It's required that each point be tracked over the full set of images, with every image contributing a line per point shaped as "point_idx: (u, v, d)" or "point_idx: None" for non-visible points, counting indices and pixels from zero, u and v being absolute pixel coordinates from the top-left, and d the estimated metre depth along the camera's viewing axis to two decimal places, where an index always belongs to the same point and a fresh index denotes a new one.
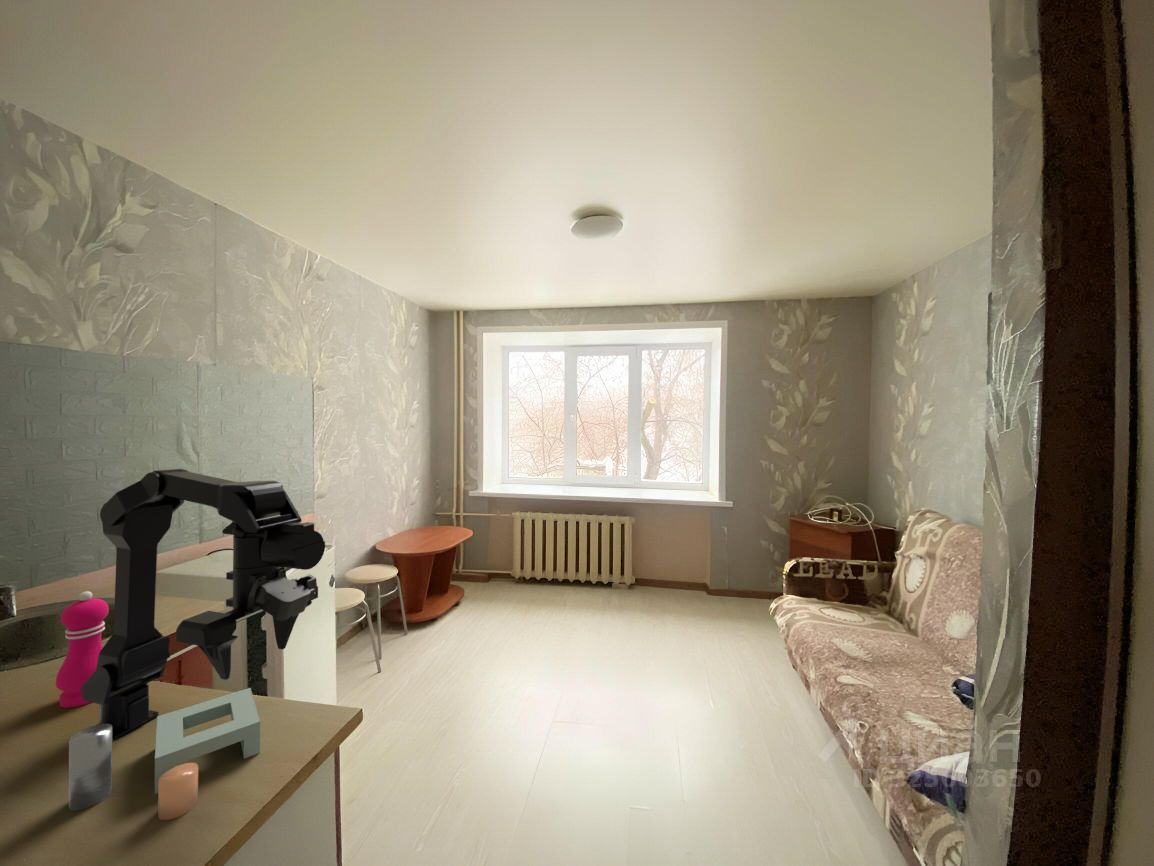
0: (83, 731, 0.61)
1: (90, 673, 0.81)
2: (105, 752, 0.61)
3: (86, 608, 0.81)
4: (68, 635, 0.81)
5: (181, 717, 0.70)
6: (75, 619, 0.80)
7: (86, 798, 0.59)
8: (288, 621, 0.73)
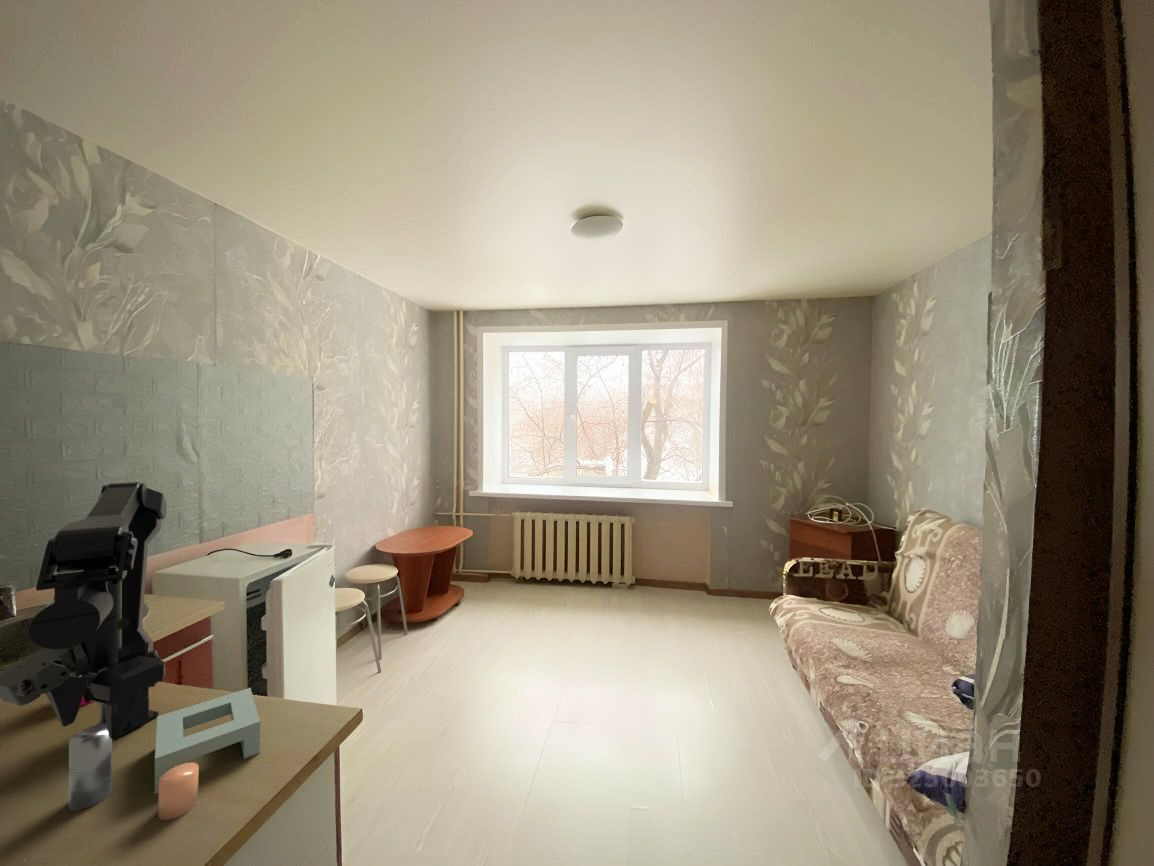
0: (83, 731, 0.61)
1: None
2: (105, 752, 0.61)
3: None
4: None
5: (181, 717, 0.70)
6: None
7: (86, 798, 0.59)
8: None
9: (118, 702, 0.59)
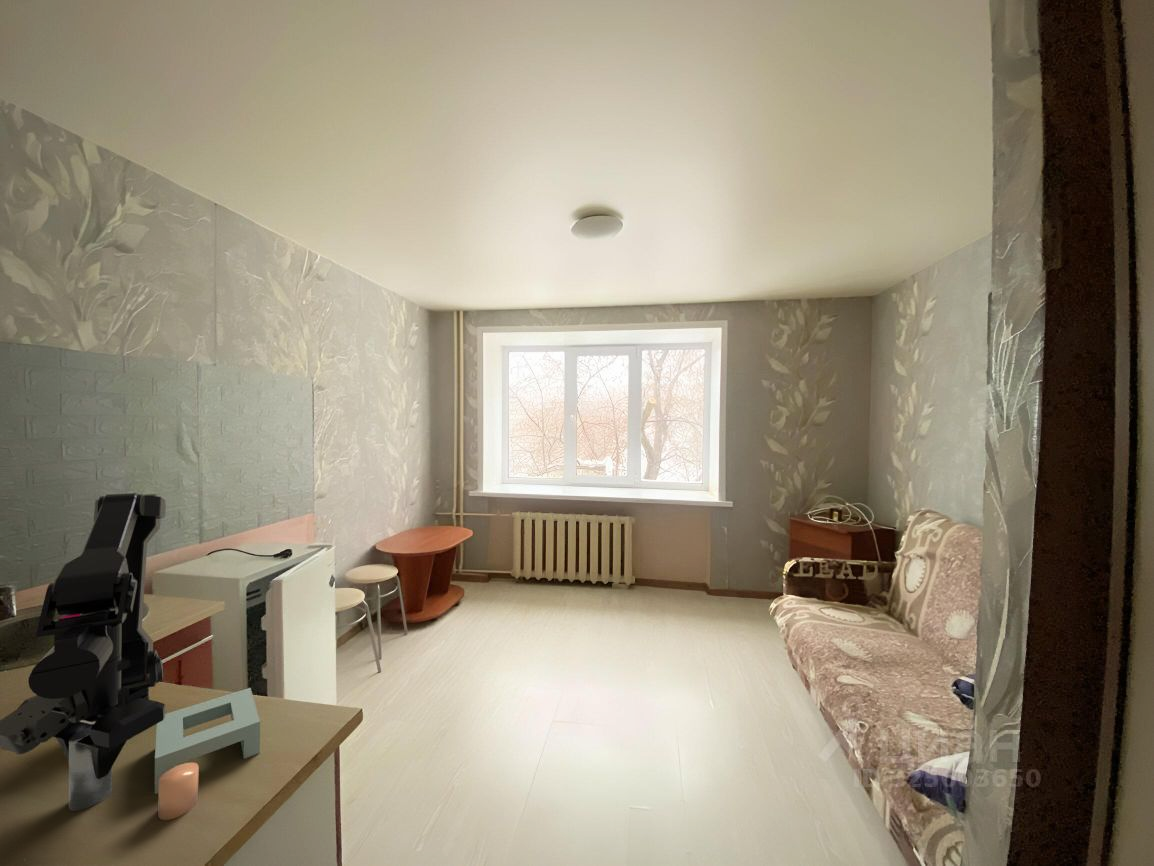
0: (83, 731, 0.61)
1: None
2: None
3: None
4: None
5: (181, 717, 0.70)
6: None
7: (86, 798, 0.59)
8: None
9: None
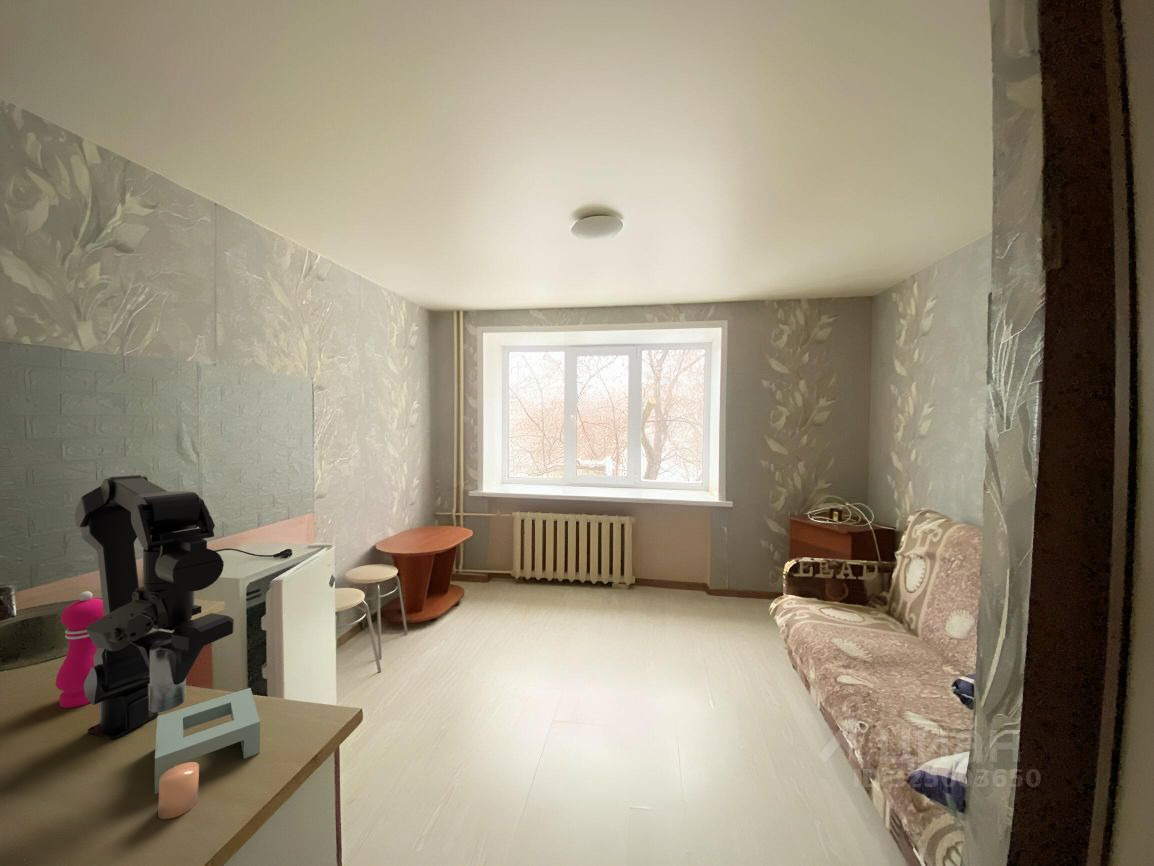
0: (161, 642, 0.67)
1: None
2: None
3: (86, 608, 0.81)
4: (68, 635, 0.81)
5: (181, 717, 0.70)
6: (75, 619, 0.80)
7: (165, 701, 0.65)
8: None
9: (181, 651, 0.65)
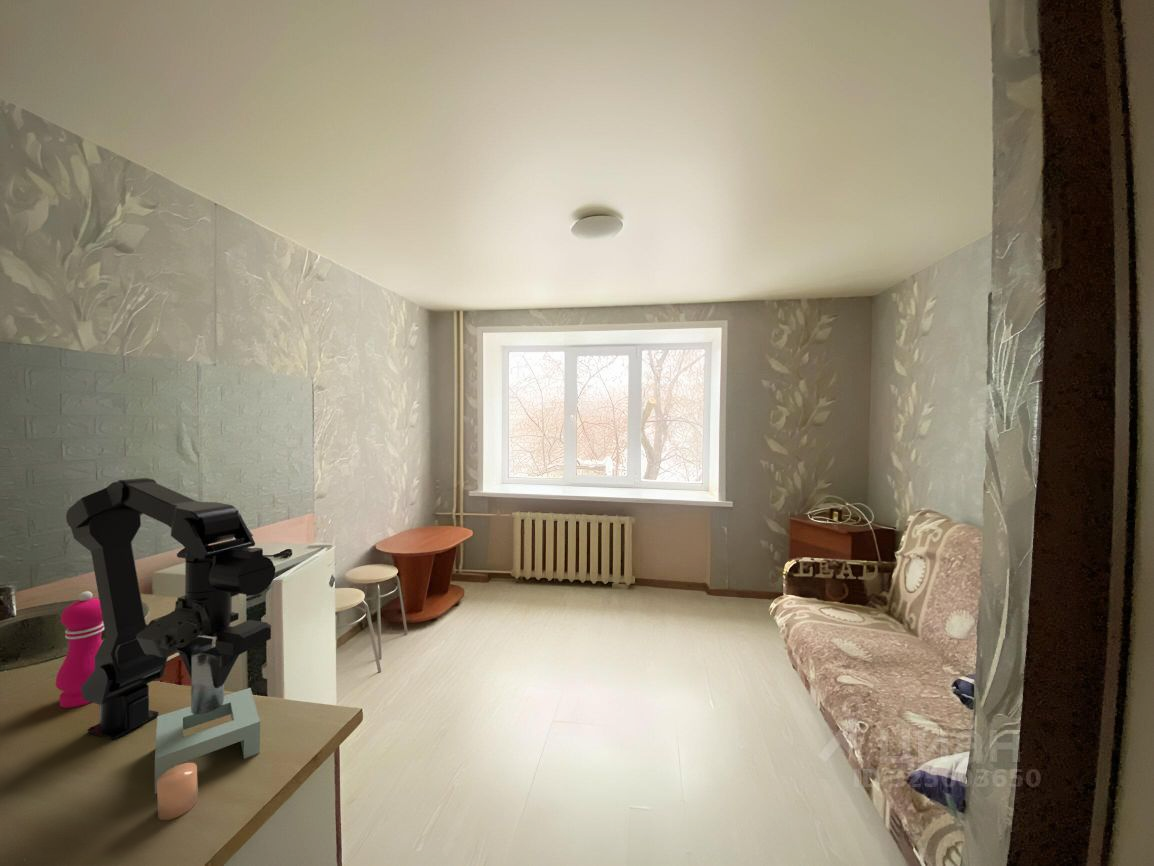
0: (201, 648, 0.70)
1: (90, 673, 0.81)
2: None
3: (86, 608, 0.81)
4: (68, 635, 0.81)
5: (181, 717, 0.70)
6: (75, 619, 0.80)
7: (206, 704, 0.68)
8: None
9: (222, 656, 0.69)
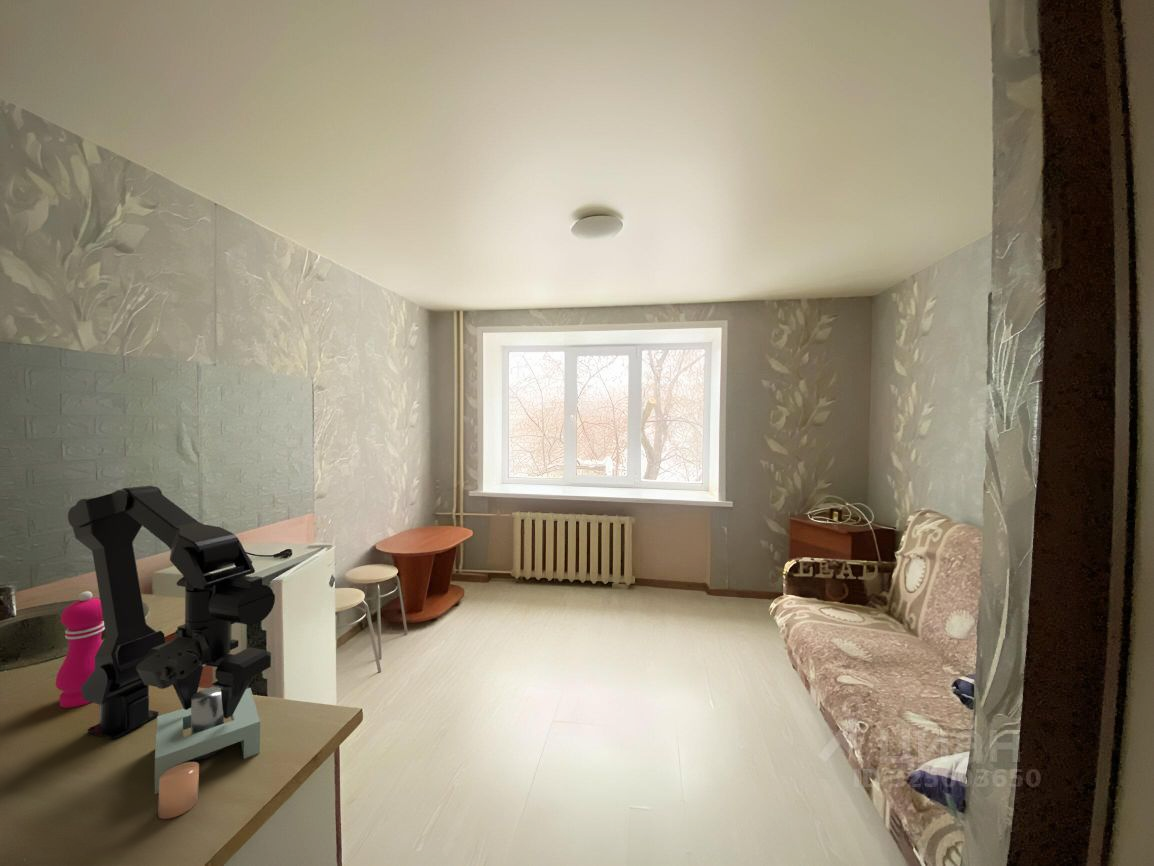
0: (200, 692, 0.70)
1: (90, 673, 0.81)
2: (220, 710, 0.70)
3: (86, 608, 0.81)
4: (68, 635, 0.81)
5: (181, 717, 0.70)
6: (75, 619, 0.80)
7: None
8: None
9: (232, 687, 0.68)
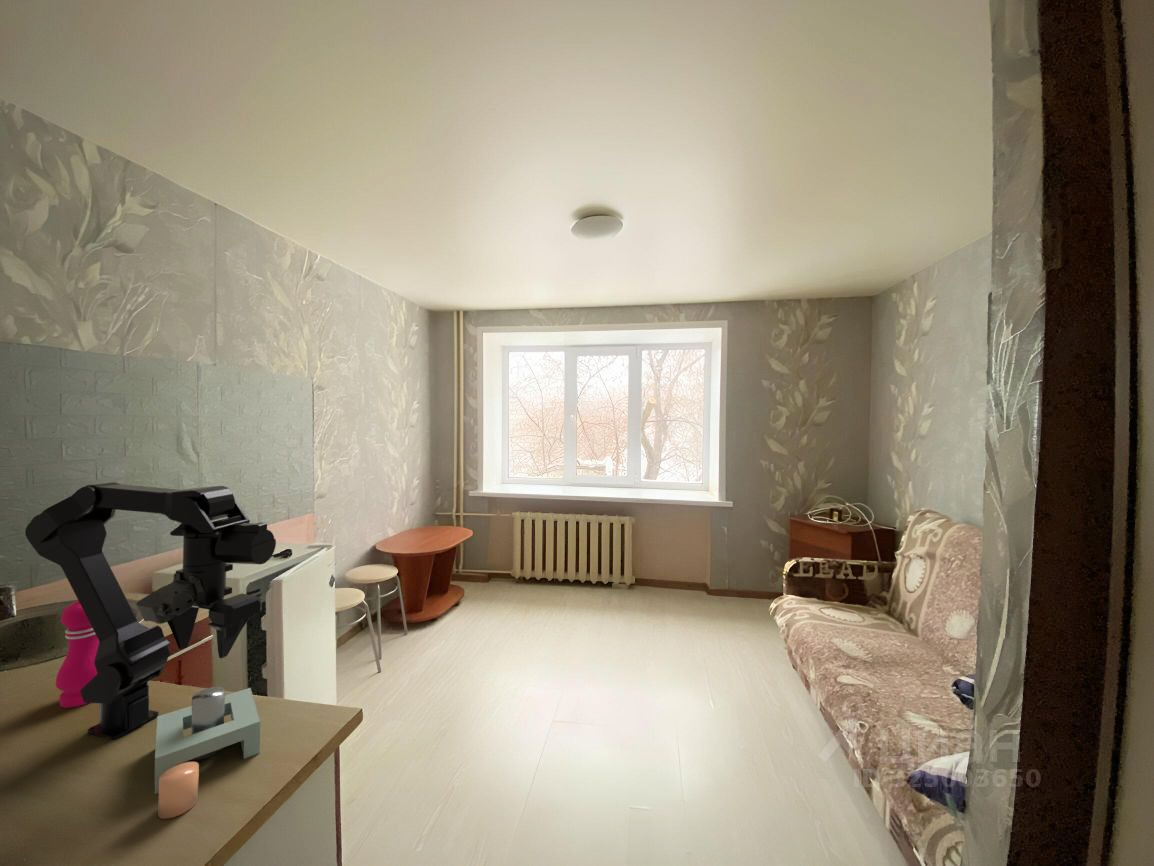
0: (201, 692, 0.70)
1: (90, 673, 0.81)
2: (221, 710, 0.70)
3: None
4: (68, 635, 0.81)
5: (181, 717, 0.70)
6: (75, 619, 0.80)
7: None
8: None
9: (226, 629, 0.73)
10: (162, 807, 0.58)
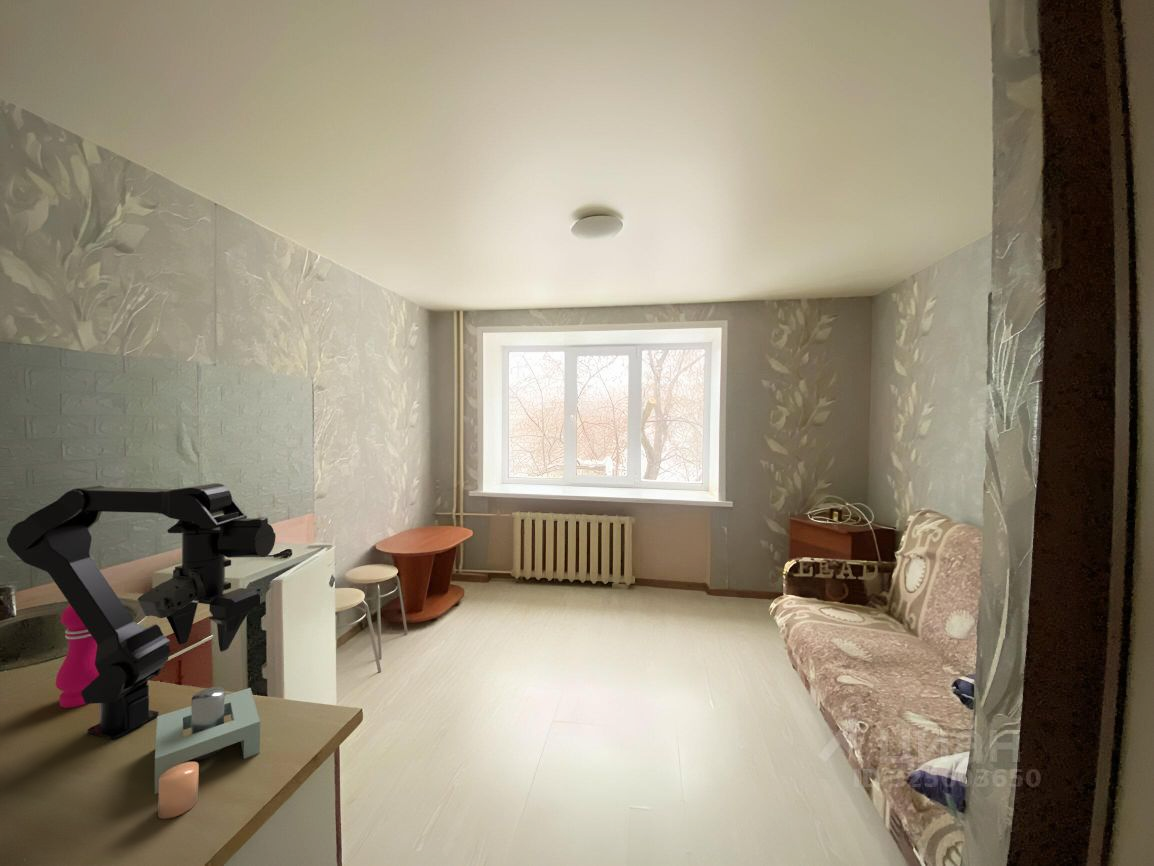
0: (200, 692, 0.70)
1: (90, 673, 0.81)
2: (221, 710, 0.70)
3: None
4: (68, 635, 0.81)
5: (181, 717, 0.70)
6: (75, 619, 0.80)
7: None
8: None
9: (227, 622, 0.75)
10: (164, 807, 0.58)
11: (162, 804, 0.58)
